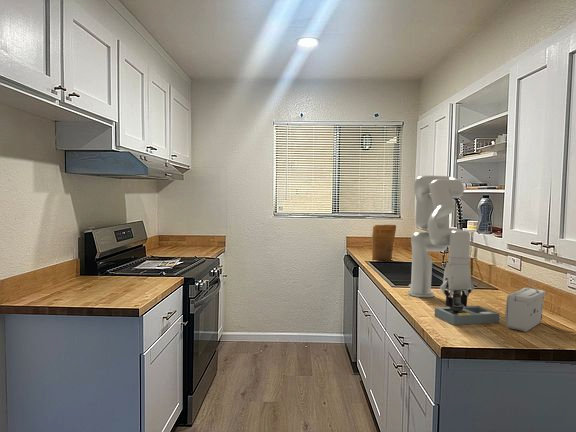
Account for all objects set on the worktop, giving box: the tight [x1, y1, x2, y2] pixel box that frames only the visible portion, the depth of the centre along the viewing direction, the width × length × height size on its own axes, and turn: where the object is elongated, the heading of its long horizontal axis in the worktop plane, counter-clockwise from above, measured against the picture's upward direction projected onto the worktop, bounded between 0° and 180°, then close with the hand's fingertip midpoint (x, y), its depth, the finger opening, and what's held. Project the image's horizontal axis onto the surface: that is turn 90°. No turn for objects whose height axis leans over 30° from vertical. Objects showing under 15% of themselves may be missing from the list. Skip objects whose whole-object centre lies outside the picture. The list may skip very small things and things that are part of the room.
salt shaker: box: [450, 290, 464, 314], centre depth 162 cm, size 6×6×12 cm
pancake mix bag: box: [371, 224, 397, 261], centre depth 314 cm, size 7×19×28 cm, turn 95°
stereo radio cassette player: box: [504, 278, 547, 333], centre depth 158 cm, size 21×8×20 cm, turn 133°
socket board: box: [434, 305, 501, 326], centre depth 164 cm, size 12×21×4 cm, turn 105°
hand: (456, 305), depth 163 cm, fingers closed on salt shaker, 5 cm apart
